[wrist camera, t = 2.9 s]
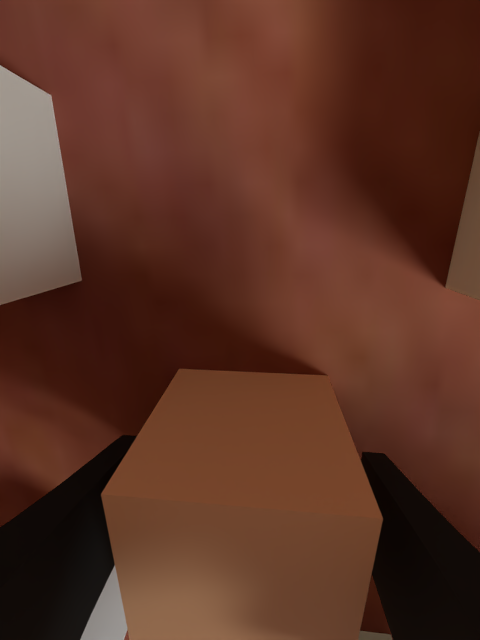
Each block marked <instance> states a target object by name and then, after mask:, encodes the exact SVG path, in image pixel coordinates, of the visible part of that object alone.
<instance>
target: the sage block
mask: <svg viewBox="0 0 480 640" xmlns="http://www.w3.org/2000/svg"><path fill="white" fill-rule="evenodd" d="M358 640H392V637H391V634H383V633H374V632H366V631H360V633H359V638H358Z"/></svg>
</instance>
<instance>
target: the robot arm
mask: <svg viewBox="0 0 480 640" xmlns="http://www.w3.org/2000/svg"><path fill="white" fill-rule="evenodd" d="M136 437H137V436H128V435H122V436H121V437H120V438H118V439H117V440H116V441H114V442H113V443H112V444H110V445H109V446H108V447H107V448H105V449H104V450H103V451H102V452H100V453H99V454H98V455H97V456H95V457H94V458H93V459H92V460H90V461H89V462H88V463H87V464H85V465H84V466H83V467H82V468H80V469H79V470H78V471H77V472H75V473H74V474H73V475H71V476H70V477H69V478H68V479H66V480H65V481H64V482H62V483H61V484H60V485H59V486H57V487H56V488H55V489H53V490H52V491H50V492H49V493H48V494H46V495H45V496H44V497H42V498H41V499H39V500H38V501H37V502H35V503H34V504H33V505H31V506H30V507H28V508H27V509H26V510H24V511H23V512H22V513H20V514H19V515H18V516H16V517H15V518H13V519H12V520H10V521H9V522H7V523H6V524H5V525H3V526H2V527H0V640H80V639H81V637H82V634H83V632H84V630H85V627H86V625H87V623H88V621H89V618H90V616H91V614H92V612H93V610H94V608H95V605H96V603H97V601H98V599H99V597H100V595H101V593H102V591H103V589H104V587H105V584H106V582H107V580H108V578H109V576H110V574H111V572H112V570H113V568H114V566H115V563H114V558H113V553H112V548H111V543H110V537H109V532H108V527H107V522H106V517H105V512H104V507H103V502H102V497H101V493H102V492H103V490H104V489H105V487H106V485H107V484H108V482H109V480H110V479H111V477H112V476H113V474H114V472H115V471H116V469H117V468H118V466H119V464H120V463H121V461H122V460H123V458H124V456H125V455H126V453H127V452H128V450H129V448H130V447H131V445H132V444H133V442H134V440H135V439H136ZM361 463H362V465H363V468H364V471H365V473H366V476H367V478H368V481H369V484H370V486H371V489H372V491H373V494H374V497H375V499H376V502H377V504H378V507H379V510H380V512H381V515H382V517H383V521H382V526H381V531H380V536H379V541H378V545H377V550H376V555H375V560H374V565H373V570H372V575H373V578H374V582H375V585H376V588H377V591H378V594H379V597H380V600H381V603H382V606H383V609H384V612H385V615H386V618H387V622H388V625H389V628H390V631H391V634H392V637H393V640H480V552H479V551H478V550H477V549H476V548H474V547H473V546H472V545H471V544H470V543H469V542H468V541H467V540H466V539H465V538H464V537H463V536H462V535H461V534H460V533H459V532H458V531H457V530H456V529H455V528H454V527H453V526H452V525H451V524H450V523H449V522H448V521H447V520H446V519H445V518H444V517H443V516H442V515H441V514H440V513H439V512H438V511H437V510H436V508H435V507H434V506H433V505H432V504H431V503H430V502H429V501H428V500H427V499H426V498H425V497H424V496H423V495H422V494H421V493H420V492H419V491H418V489H417V488H416V487H415V486H414V485H413V484H412V483H411V482H410V481H409V480H408V479H407V478H406V477H405V475H404V474H403V473H402V472H401V471H400V470H399V469H398V468H397V467H396V466H395V465H394V464H393V462H392V461H391V460H390V459H389V458H388V457H387V456H386V455H385V454H384V453H370V452H363V453H362V459H361Z"/></svg>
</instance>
